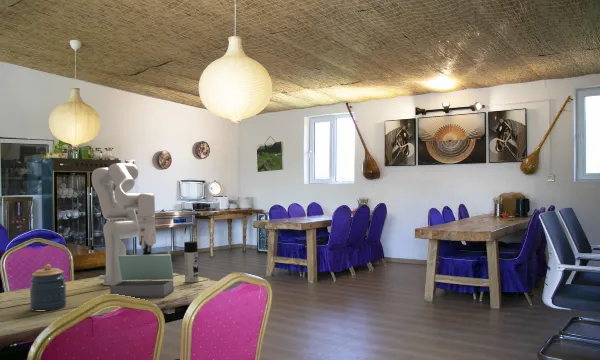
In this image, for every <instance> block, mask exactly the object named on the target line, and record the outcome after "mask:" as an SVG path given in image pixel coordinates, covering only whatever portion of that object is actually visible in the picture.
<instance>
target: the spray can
mask: <svg viewBox="0 0 600 360" xmlns="http://www.w3.org/2000/svg"><path fill="white" fill-rule="evenodd" d="M183 244H184V246H183V249H184V250H183V252H184V253H183V254H184V255H183V256H184V279H185V280H184V281H185V283H187V282H188V283H189V284H190V283H192V284H193V283H198V282H199V278H200V276H199V251H198V250H199V249H198V245H199V244H198V241H193V240H191V241H184V242H183Z"/></svg>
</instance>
